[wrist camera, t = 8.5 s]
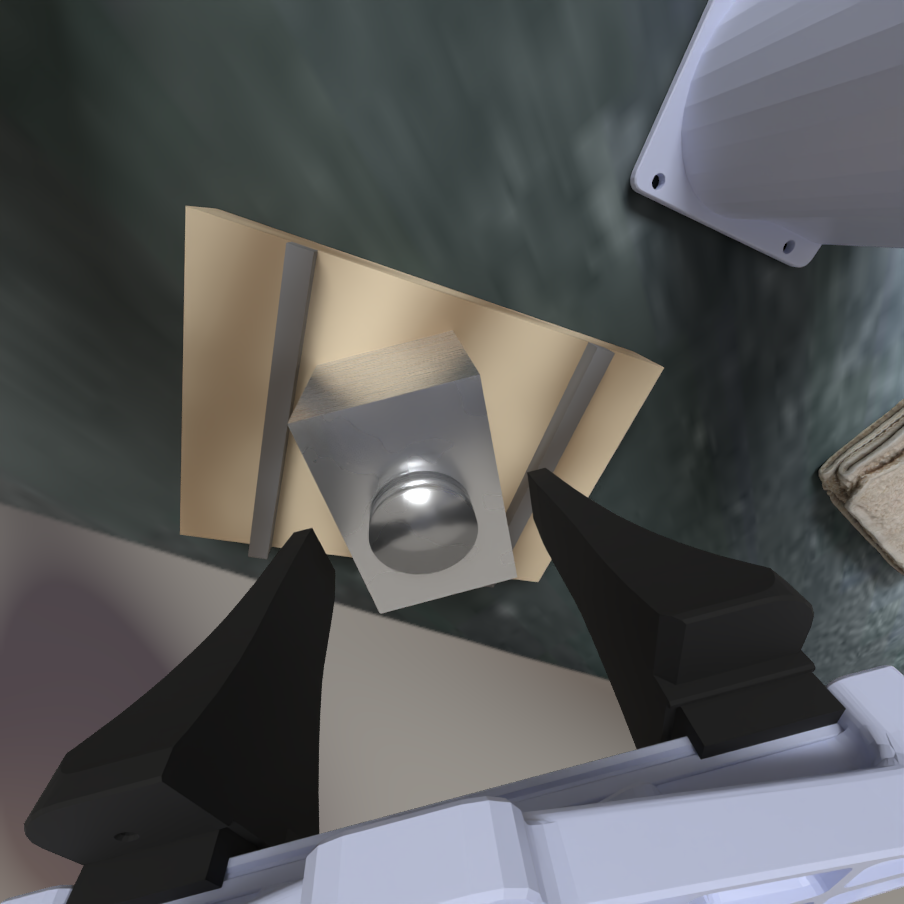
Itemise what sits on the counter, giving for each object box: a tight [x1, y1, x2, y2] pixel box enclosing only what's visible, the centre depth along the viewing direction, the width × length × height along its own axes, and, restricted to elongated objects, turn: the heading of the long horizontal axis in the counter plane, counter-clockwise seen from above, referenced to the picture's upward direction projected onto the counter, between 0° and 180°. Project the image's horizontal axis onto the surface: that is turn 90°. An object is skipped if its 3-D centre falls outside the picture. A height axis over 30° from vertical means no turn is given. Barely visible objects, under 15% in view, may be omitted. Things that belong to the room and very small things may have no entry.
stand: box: [180, 206, 664, 587], centre depth 18 cm, size 18×13×3 cm
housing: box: [287, 330, 517, 614], centre depth 14 cm, size 8×5×6 cm, turn 13°
